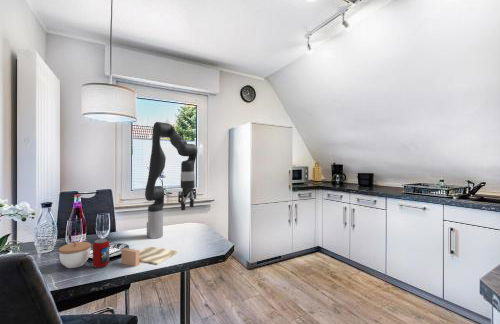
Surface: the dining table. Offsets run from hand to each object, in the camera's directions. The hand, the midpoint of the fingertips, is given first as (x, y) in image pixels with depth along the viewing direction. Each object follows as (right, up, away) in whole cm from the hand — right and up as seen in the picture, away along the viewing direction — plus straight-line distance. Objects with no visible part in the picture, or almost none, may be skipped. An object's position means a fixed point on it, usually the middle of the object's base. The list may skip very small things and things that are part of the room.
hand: (187, 208), depth 135 cm
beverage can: (-37, -24, -18) cm, 48 cm away
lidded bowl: (-50, -24, -18) cm, 58 cm away
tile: (-24, -24, -17) cm, 37 cm away
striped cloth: (-17, -24, -6) cm, 30 cm away
